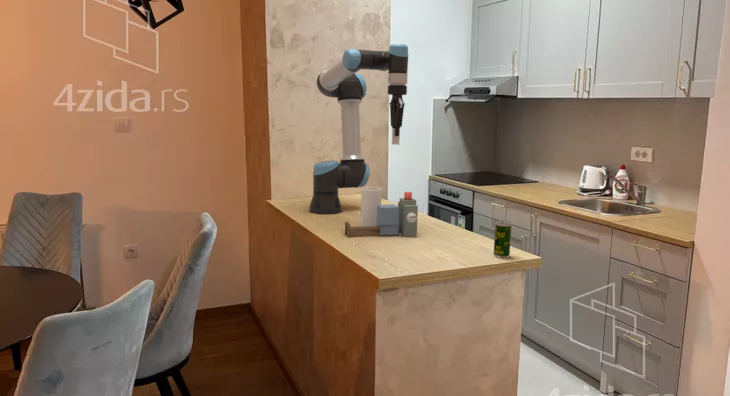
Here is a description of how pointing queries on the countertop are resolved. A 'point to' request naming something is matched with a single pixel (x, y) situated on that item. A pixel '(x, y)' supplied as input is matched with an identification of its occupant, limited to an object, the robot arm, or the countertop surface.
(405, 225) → the grey upright block
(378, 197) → the cup
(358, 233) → the rail
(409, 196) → the plunger
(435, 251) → the countertop surface
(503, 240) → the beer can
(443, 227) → the countertop surface
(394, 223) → the block
